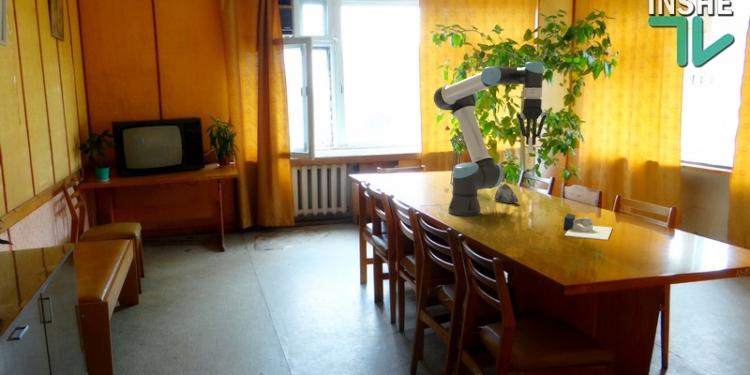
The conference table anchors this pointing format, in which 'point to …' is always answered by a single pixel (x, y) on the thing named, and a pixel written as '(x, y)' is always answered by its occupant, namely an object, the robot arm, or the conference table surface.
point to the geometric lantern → (457, 150)
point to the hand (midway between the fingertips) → (530, 152)
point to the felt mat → (591, 233)
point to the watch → (572, 223)
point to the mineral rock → (505, 194)
